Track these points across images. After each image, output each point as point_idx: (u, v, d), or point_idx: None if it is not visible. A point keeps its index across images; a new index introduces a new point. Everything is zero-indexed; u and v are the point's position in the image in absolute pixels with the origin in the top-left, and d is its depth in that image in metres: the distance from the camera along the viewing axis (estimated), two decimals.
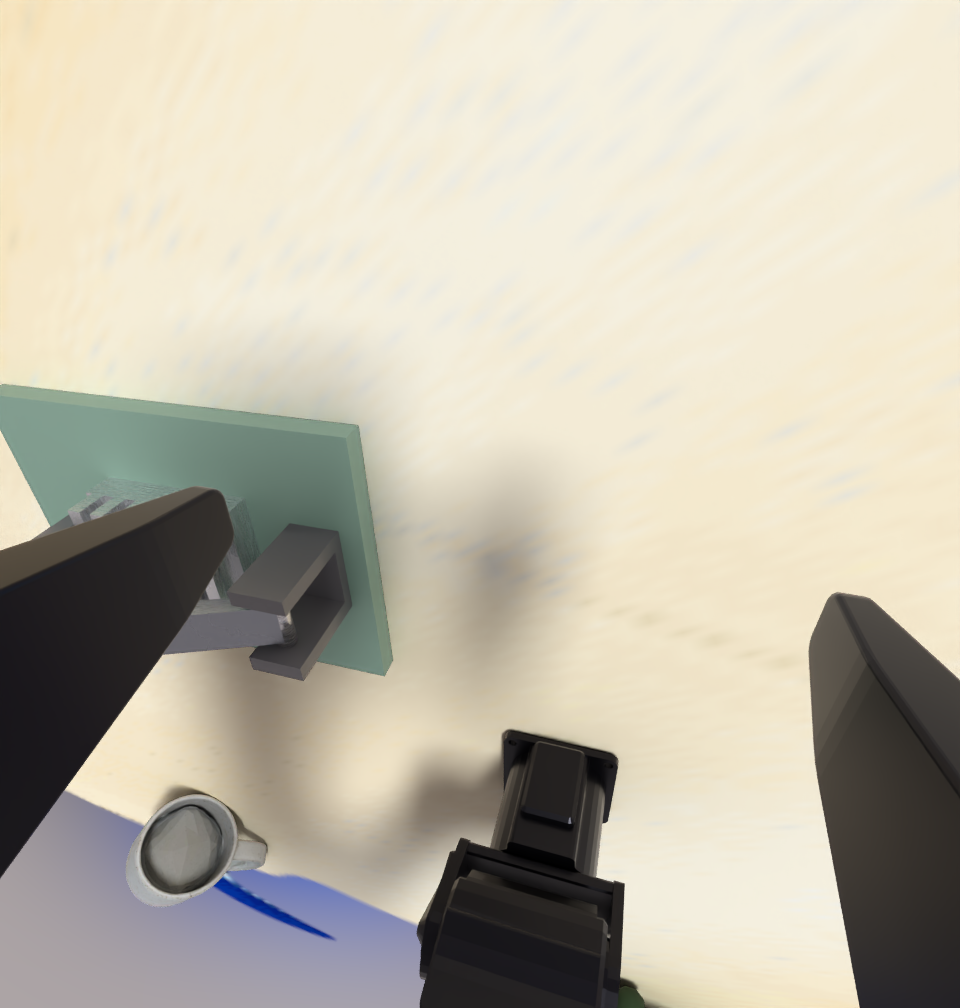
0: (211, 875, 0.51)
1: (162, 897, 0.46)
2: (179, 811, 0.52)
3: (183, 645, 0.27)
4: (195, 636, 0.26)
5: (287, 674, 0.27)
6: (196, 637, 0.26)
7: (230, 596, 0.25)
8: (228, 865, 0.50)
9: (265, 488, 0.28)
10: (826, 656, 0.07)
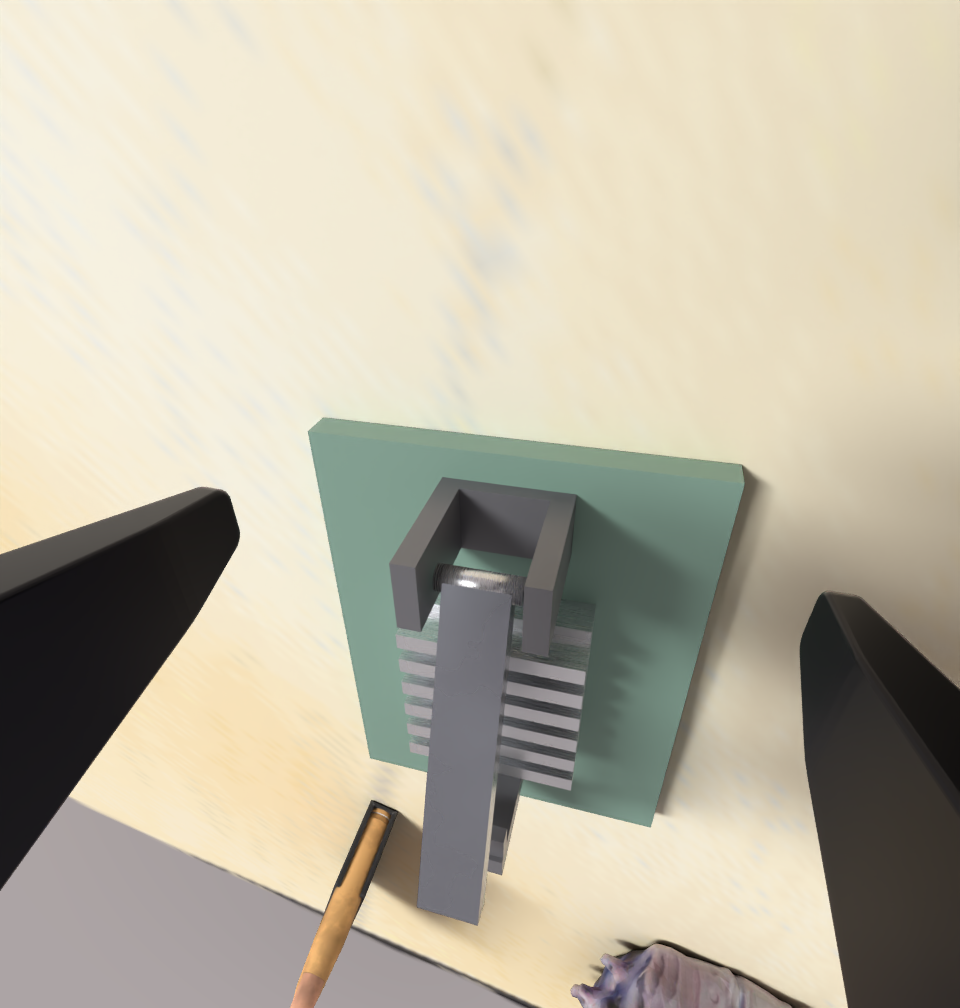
0: None
1: None
2: None
3: (485, 721, 0.19)
4: (471, 699, 0.19)
5: (544, 610, 0.17)
6: (473, 699, 0.19)
7: (409, 628, 0.19)
8: None
9: None
10: (816, 655, 0.07)
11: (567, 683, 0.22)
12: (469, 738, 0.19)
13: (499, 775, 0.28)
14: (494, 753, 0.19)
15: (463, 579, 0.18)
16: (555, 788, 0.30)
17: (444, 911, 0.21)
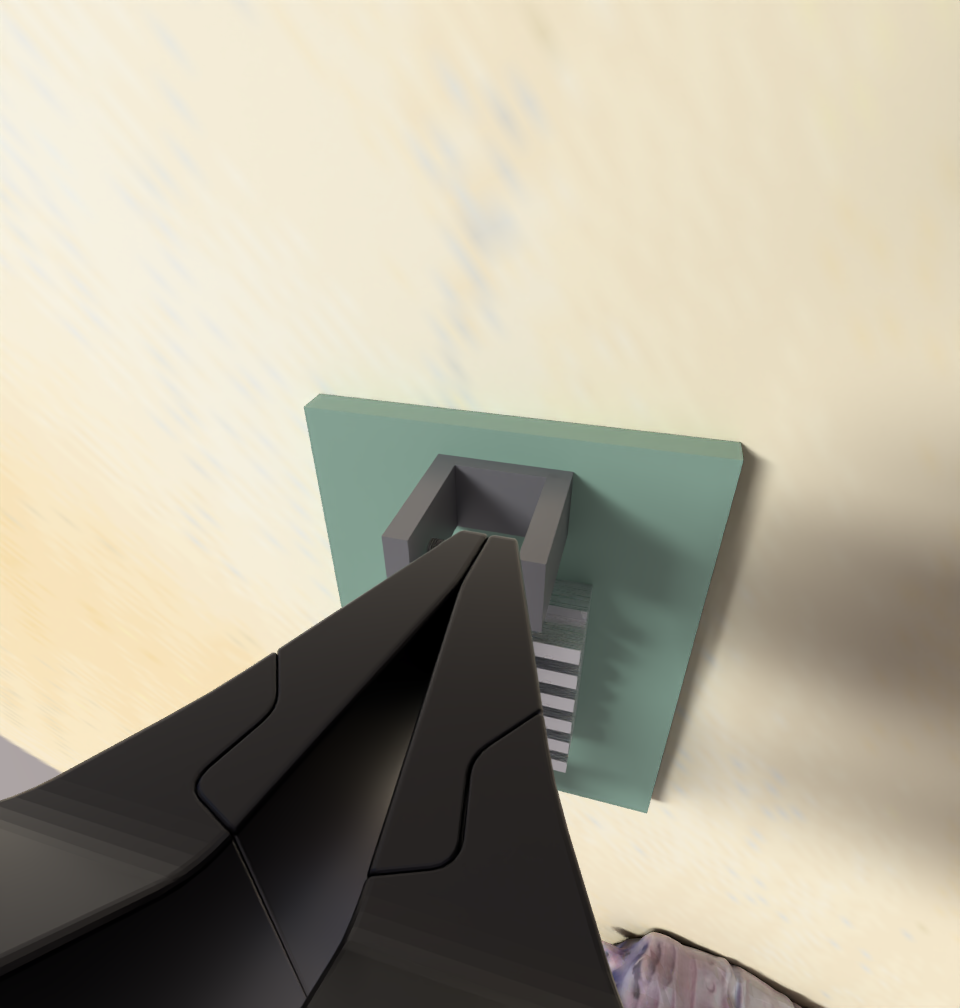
0: None
1: None
2: None
3: None
4: None
5: (537, 585, 0.17)
6: None
7: None
8: None
9: None
10: None
11: (562, 663, 0.22)
12: None
13: None
14: None
15: None
16: None
17: None
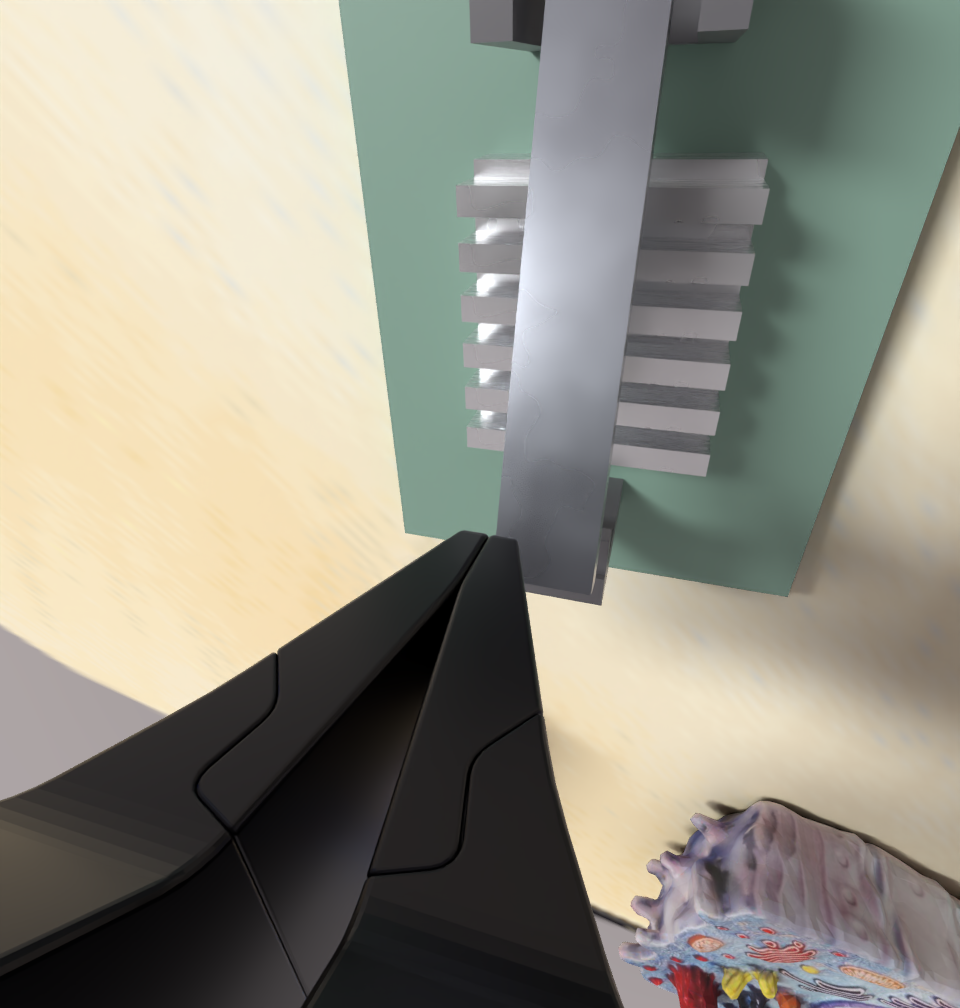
0: None
1: None
2: None
3: (620, 205, 0.11)
4: (597, 166, 0.11)
5: None
6: (601, 165, 0.11)
7: (490, 42, 0.11)
8: None
9: (461, 95, 0.16)
10: None
11: (725, 248, 0.14)
12: (590, 246, 0.11)
13: None
14: (633, 266, 0.11)
15: None
16: (656, 546, 0.22)
17: (537, 576, 0.13)
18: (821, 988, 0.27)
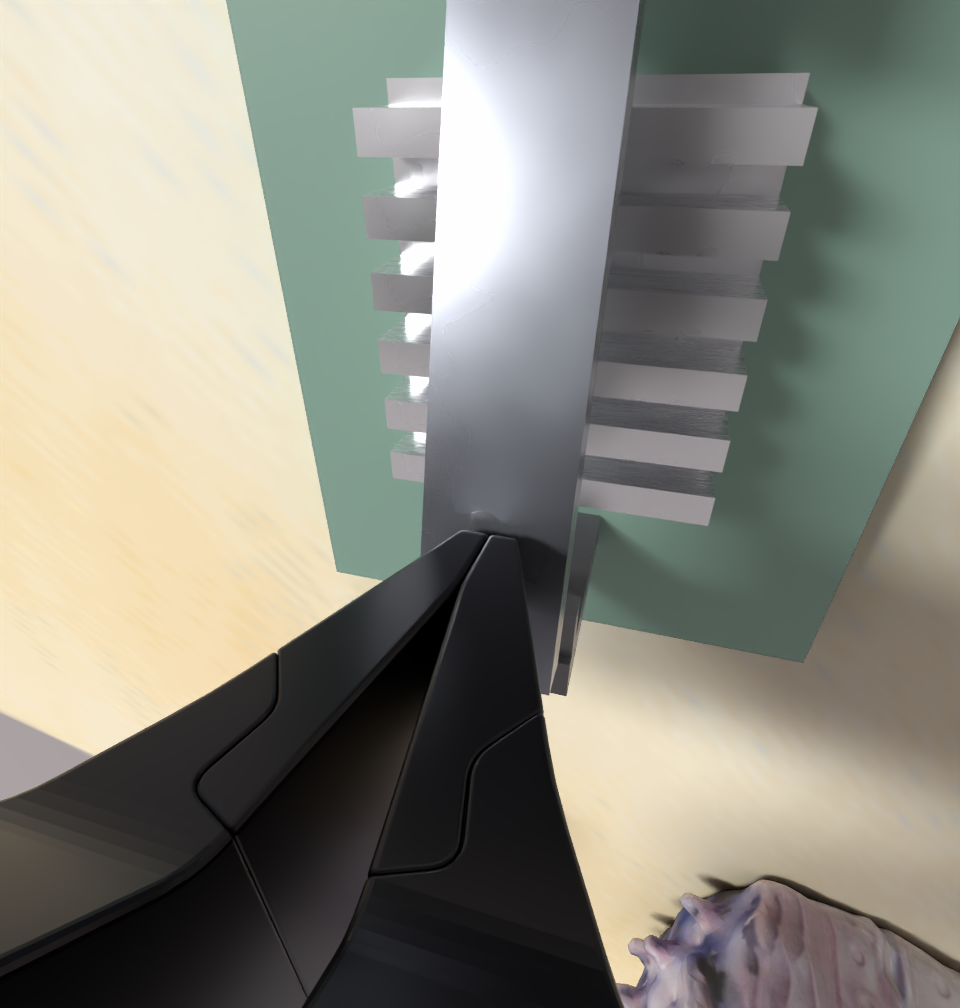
0: None
1: None
2: None
3: (586, 123, 0.07)
4: (549, 59, 0.07)
5: None
6: (555, 56, 0.07)
7: None
8: None
9: None
10: None
11: (745, 205, 0.09)
12: (540, 192, 0.07)
13: None
14: (607, 225, 0.07)
15: None
16: (641, 597, 0.18)
17: None
18: None
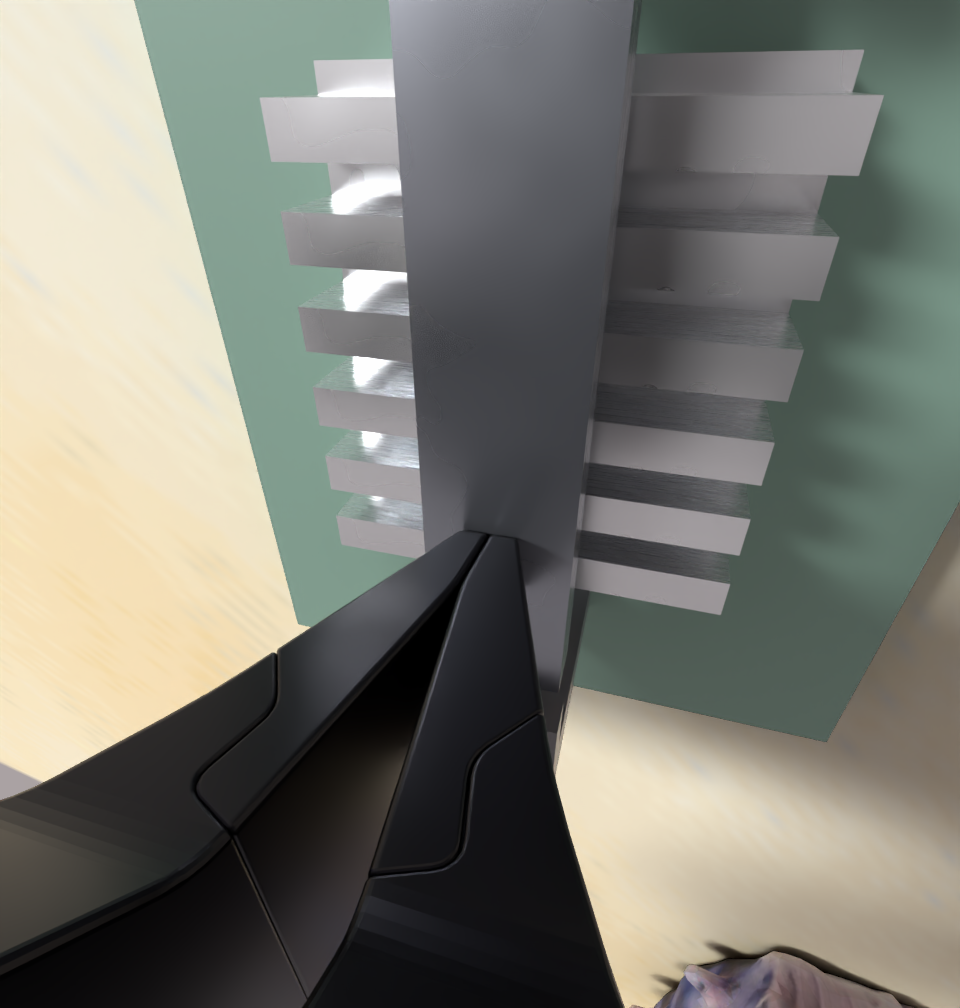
0: None
1: None
2: None
3: (571, 150, 0.06)
4: (523, 67, 0.05)
5: None
6: (530, 64, 0.05)
7: None
8: None
9: None
10: None
11: (776, 227, 0.07)
12: (522, 231, 0.06)
13: None
14: (601, 269, 0.06)
15: None
16: (639, 665, 0.16)
17: None
18: None
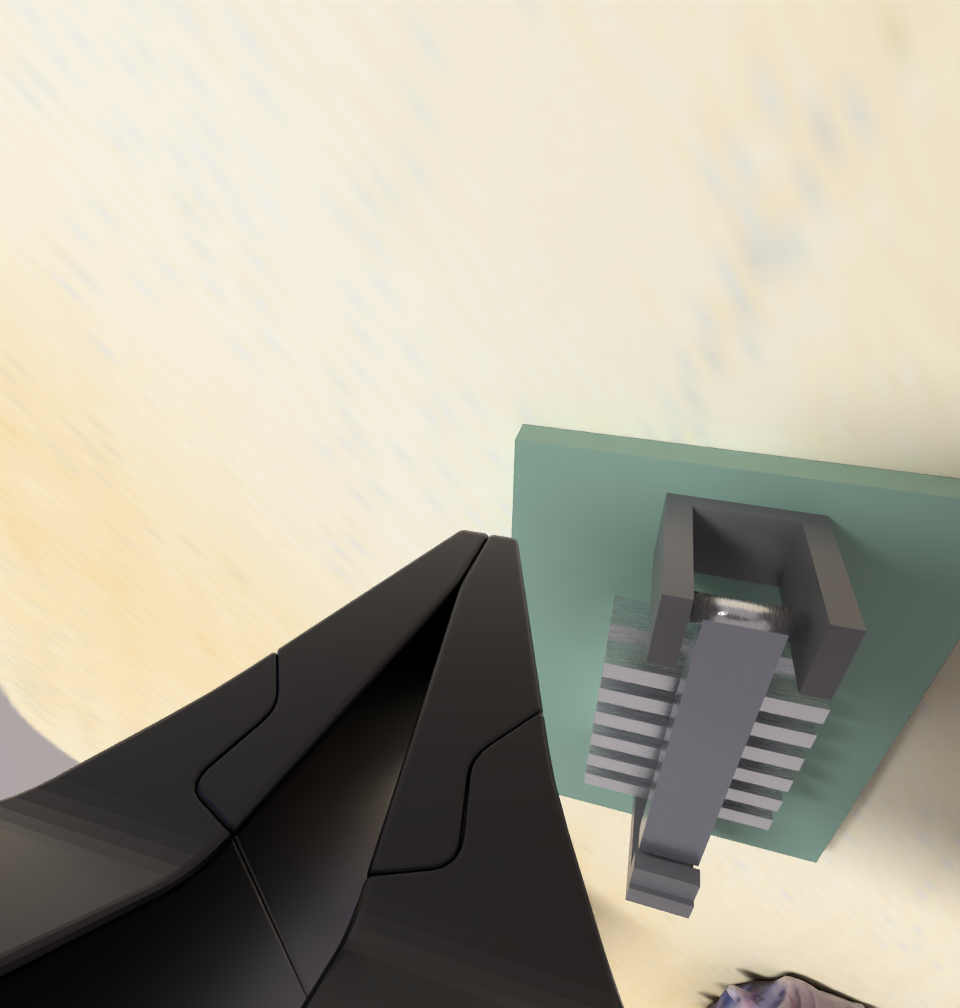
0: None
1: None
2: None
3: (734, 733, 0.19)
4: (721, 716, 0.18)
5: (847, 651, 0.15)
6: (724, 716, 0.18)
7: (659, 662, 0.17)
8: None
9: (597, 564, 0.22)
10: None
11: (795, 719, 0.20)
12: (713, 744, 0.19)
13: None
14: (739, 757, 0.19)
15: (730, 617, 0.16)
16: None
17: (666, 854, 0.23)
18: None
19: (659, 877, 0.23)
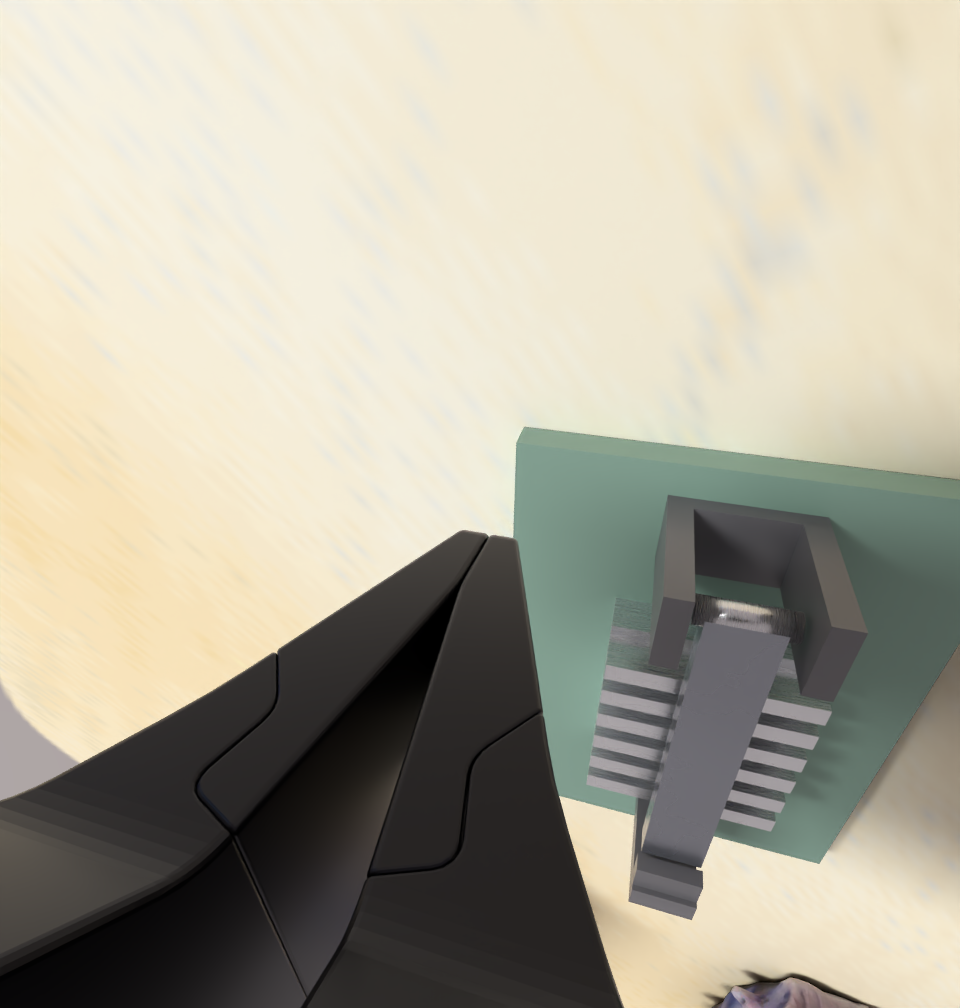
0: None
1: None
2: None
3: (736, 735, 0.19)
4: (723, 718, 0.18)
5: (848, 654, 0.15)
6: (726, 718, 0.18)
7: (661, 665, 0.17)
8: None
9: (599, 566, 0.22)
10: None
11: (797, 721, 0.20)
12: (715, 746, 0.19)
13: None
14: (741, 759, 0.19)
15: (731, 619, 0.16)
16: None
17: (669, 855, 0.23)
18: None
19: (662, 879, 0.23)
